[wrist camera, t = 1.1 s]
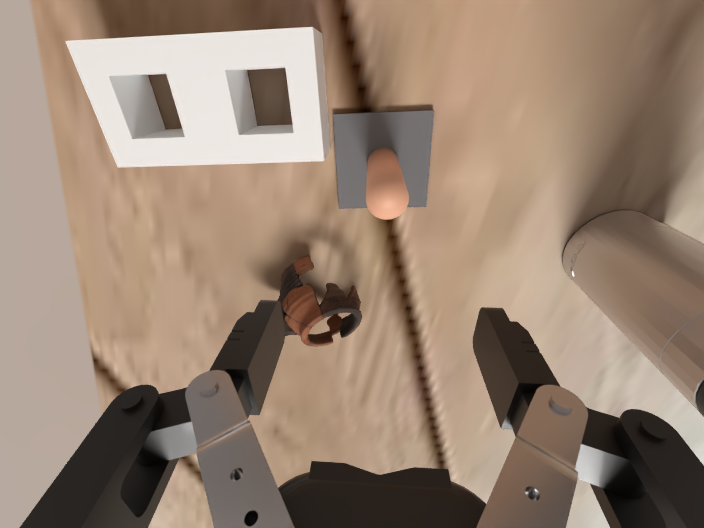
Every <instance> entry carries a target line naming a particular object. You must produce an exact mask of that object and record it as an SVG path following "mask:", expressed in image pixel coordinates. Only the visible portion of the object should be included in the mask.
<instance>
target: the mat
mask: <svg viewBox="0 0 704 528" xmlns="http://www.w3.org/2000/svg"><path fill="white" fill-rule="evenodd" d="M433 116H434V110H421V111H396V112H371V113H346V114H333V122H334V137H335V152H336V168H337V183H338V198H339V209H344V208H368V207H367V204H366V182H367V160H368V157H369V155H370V154H371V153H372V152H373V151H374V150H376V149H378V148H389V149H391V150H392V151H393V152H394V153H395V154H396V156H397V158H398V161H399V165H400V168H401V171H402V174H403V177H404V181H405V184H406V187H407V190H408V194H409V202H408V205H407V207H426V201H427V189H428V177H429V165H430V153H431V141H432V129H433Z"/></svg>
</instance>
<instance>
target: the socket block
mask: <svg viewBox="0 0 704 528" xmlns="http://www.w3.org/2000/svg"><path fill="white" fill-rule="evenodd" d="M65 42H66V44H67V46H68V49H69V51H70V54H71V56H72V58H73V61H74V63H75V66H76V68H77V70H78V73H79V75H80V78H81V80H82V82H83V85H84V87H85V90H86V92H87V95H88V97H89V99H90V102H91V104H92V107H93V109H94V111H95V114H96V116H97V119H98V121H99V123H100V126H101V128H102V131H103V133H104V135H105V138H106V140H107V143H108V145H109V147H110V150H111V152H112V155H113V157H114V159H115V162H116V164H117V167H148V166H180V165H212V164H244V163H277V162H309V161H324V160H325V158H326V156H327V154H328V152H329V150H330V135H329V121H328V107H327V94H326V80H325V66H324V53H323V39H322V33H320V32H319V31H318V30H316V29H315V28H314V27H301V28H283V29H266V30H249V31H231V32H214V33H197V34H179V35H162V36H145V37H127V38H110V39H93V40H75V41H65ZM276 68H285V69H286V76H287V84H288V92H289V100H290V108H291V116H292V123H293V124H292V125H266V126H257V121H256V115H255V110H254V104H253V99H252V93H251V88H250V82H249V77H248V71H247V70H256V69H276ZM156 74H167V78H168V81H169V85H170V88H171V91H172V95H173V98H174V102H175V105H176V108H177V112H178V115H179V119H180V122H181V125H182V129H165V126H164V123H163V120H162V117H161V114H160V111H159V108H158V105H157V102H156V98H155V95H154V92H153V89H152V86H151V83H150V80H149V77H148V75H156Z"/></svg>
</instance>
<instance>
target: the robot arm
mask: <svg viewBox="0 0 704 528" xmlns="http://www.w3.org/2000/svg"><path fill="white" fill-rule="evenodd" d="M563 267H564V270H565V272H566V273H567V275H568V276H569V277H570V278H571V279H572V280H573V281H574V282H575V283H576V284H577V285H578V286H579V287H580V288H581V290H582V291H583V292H584V293H585V294H586V295H587V296H588V297H589V298H590V299H591V300H592V301H593V302H594V303H595V304H596V305H597V306H598V307H599V308H600V309H601V311H602V312H603V313H604V314H605V315H606V316H607V317H608V318H609V319H610V320H611V321H612V322H613V323H614V324H615V325H616V326H617V327H618V328H619V329H620V330H621V331H622V332H623V333H624V334H625V335H626V336H627V337H628V339H629V340H630V341H631V342H632V343H633V344H634V345H635V346H636V347H637V348H638V349H639V350H640V351H641V352H642V353H643V354H644V355H645V356H646V357H647V358H648V359H649V360H650V361H651V362H652V363H653V364H654V366H655V367H656V368H657V369H658V370H659V371H660V372H661V373H662V374H663V375H664V376H665V377H666V378H667V379H668V380H669V381H670V382H671V383H672V384H673V385H674V386H675V387H676V388H677V389H678V390H679V391H680V392H681V393H682V394H683V395H684V396H685V397H686V399H687V400H688V401H689V402H690V403H691V404H692V405H693V406H694V407H695V408H696V409H697V410H698V411H699V412H700V413H701V414H702V415H703V416H704V244H703V243H701V242H699V241H698V240H696V239H694V238H692V237H690V236H688V235H686V234H684V233H682V232H680V231H678V230H676V229H675V228H673V227H671V226H669V225H667V224H665V223H660V222H658V221H656V220H654V219H652V218H650V217H649V216H647V215H645V214H642V213H640V212H637V211H632V210H620V211H615V212H610V213H607V214H604V215H601V216H599V217H597V218H595V219H593V220H591V221H589V222H588V223H587V224H585V225H584V226H583V227H581V228H580V229H579V230H578V231H577V232H576V233H575V234H574V235H573V236H572V238H571V239H570V240H569V242H568V244H567V246H566V248H565V250H564V254H563ZM284 339H285V327H284V321H283V314H282V308H281V303H280V301H271V300H261V301H260V302H259V303H258V305H257V307H256V309H255V311H254V312H247V313H246V314H244V315H243V316H242V317H241V318H240V319H239V320H237V322H236V324H235V326H234V327H233V329H232V332H231V333H230V335H229V336H228V338H227V340H226V342H225V344H224V345H223V347H222V349H221V351H220V353H219V354H218V356H217V358H216V360H215V362H214V363H213V365H212V367H211V369H210V370H209V371H208V372H205V373H203V374H201V375H199V376H197V377H196V378H195V379H193V381H192V382H191V383H190V384H189V385H188V387H187V388H184V389H180V390H175V391H171V392H166V393H162V394H159V393H158V391H157V389H156V388H155V387H153V386H151V385H139V386H135V387H132V388H130V389H128V390H126V391H124V392H123V393H121V394H120V395H119V396H117V397H116V398H115V399H114V400H113V401H112V402H111V404H110V405H109V406H108V408H107V409H106V410H105V412H104V413H103V415H102V416H101V417H100V419H99V420H98V422H97V423H96V424H95V426H94V427H93V428H92V430H91V431H90V432H89V434H88V435H87V436H86V438H85V439H84V441H83V442H82V443H81V445H80V446H79V448H78V449H77V450H76V451H75V453H74V454H73V456H72V457H71V458H70V460H69V461H68V462H67V464H66V465H65V466H64V468H63V469H62V471H61V472H60V473H59V475H58V476H57V477H56V479H55V480H54V482H53V483H52V484H51V486H50V487H49V488H48V490H47V491H46V492H45V494H44V495H43V497H42V498H41V499H40V501H39V502H38V503H37V505H36V506H35V507H34V509H33V510H32V512H31V513H30V514H29V516H28V517H27V518H26V520H25V521H24V522H23V524H22V525H21V527H20V528H148V526H149V524H150V522H151V519H152V517H153V515H154V513H155V511H156V508H157V506H158V504H159V502H160V499H161V497H162V495H163V493H164V491H165V488H166V486H167V484H168V482H169V480H170V477H171V475H172V473H173V471H174V468H175V466H176V464H177V462H178V460H179V458H180V457H183V456H187V455H191V454H194V453H197V458H198V462H199V466H200V470H201V475H202V479H203V483H204V487H205V491H206V496H207V500H208V504H209V508H210V512H211V516H212V521H213V525H214V528H566V525H567V520H568V516H569V512H570V508H571V504H572V500H573V496H574V492H575V487H576V483H577V479H579V480H582V481H585V482H588V483H590V485H591V487H592V489H593V491H594V493H595V496H596V498H597V500H598V502H599V504H600V506H601V509H602V511H603V513H604V515H605V517H606V519H607V522H608V524H609V526H610V528H704V466H703V464H702V463H701V462H700V460H699V459H698V458H697V457H696V455H695V454H694V453H693V451H692V450H691V449H690V448H689V446H688V445H687V444H686V442H685V441H684V440H683V438H682V437H681V436H680V435H679V433H678V432H677V431H676V430H675V429H674V428H673V427H672V426H671V425H669V424H668V423H667V422H665V421H664V420H662V419H661V418H659V417H657V416H655V415H653V414H651V413H649V412H646V411H642V410H637V409H630V410H626V411H624V412H623V413H622V415H621V416H620V418H618V417H615V416H611V415H608V414H605V413H601V412H598V411H595V410H592V409H589V408H587V407H586V406H585V405H584V403H583V402H582V401H581V400H580V399H579V398H578V397H577V396H576V395H575V394H573V393H572V392H570V391H569V390H567V389H565V388H562V387H560V385H559V383H558V382H557V380H556V378H555V377H554V375H553V373H552V371H551V370H550V368H549V366H548V365H547V363H546V361H545V360H544V358H543V356H542V354H541V353H539V349H538V348H537V346H536V344H534V341H533V339H532V337H531V336H530V334H529V332H528V331H527V330H526V329H525V328H524V327H522V326H521V325H520V324H519V323H518V322H512V321H510V320H509V318H508V317H507V315H506V313H505V311H504V309H502V308H484V307H482V308H481V309H480V311H479V315H478V319H477V323H476V327H475V331H474V336H473V349H474V353H475V356H476V359H477V362H478V364H479V367H480V370H481V373H482V376H483V379H484V382H485V384H486V387H487V390H488V393H489V396H490V399H491V402H492V404H493V407H494V410H495V413H496V416H497V419H498V422H499V424H500V427H501V429H512V430H513V431H514V434H515V436H516V438H515V440H514V442H513V445H512V447H511V449H510V452H509V454H508V456H507V458H506V461H505V463H504V465H503V468H502V470H501V472H500V475H499V477H498V479H497V481H496V484H495V486H494V488H493V491H492V493H491V495H490V497H489V500H488V502H487V504H486V503H485V502H484V501H482V500H481V499H480V498H479V497H478V496H476V495H475V494H474V493H473V492H471V491H469V490H468V489H466V488H465V487H463V486H461V485H459V484H456V483H454V482H451V481H450V476H449V471H448V469H432V468H415V467H414V468H409V469H405V470H400V471H396V472H392V473H387V474H383V475H377V474H374V473H371V472H368V471H365V470H363V469H360V468H357V467H354V466H351V465H348V464H346V463H334V462H317V461H312V462H311V468H310V472H308V473H304V474H301V475H299V476H296V477H294V478H292V479H290V480H288V481H287V482H285V483H284V484H283V485H281V486H280V487H279V488H278V487H277V485H276V482H275V480H274V477H273V475H272V473H271V470H270V468H269V465H268V463H267V461H266V458H265V456H264V453H263V451H262V449H261V446H260V444H259V441H258V439H257V437H256V434H255V432H254V429H253V427H252V425H251V423H250V421H248V417H249V415H260V412H261V409H262V406H263V403H264V400H265V397H266V394H267V391H268V388H269V385H270V382H271V379H272V376H273V374H274V371H275V368H276V365H277V362H278V359H279V356H280V353H281V350H282V347H283V344H284Z"/></svg>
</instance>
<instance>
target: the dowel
mask: <svg viewBox="0 0 704 528" xmlns="http://www.w3.org/2000/svg"><path fill="white" fill-rule="evenodd" d="M408 202H409V194H408V190H407V187H406V184H405V181H404V177H403V174H402V171H401V168H400V165H399V161H398V158H397V156H396V154H395V153H394V152H393V151H392V150H391V149H389V148H378V149H376V150H374V151H373V152H372V153H371V154H370V155H369V157H368V160H367V182H366V204H367V207H368V209H369V211H370V212H371V213H372V214H373V215H374V216H376V217H378V218H381V219H393V218H396V217H398V216H399V215H401V214H402V213H403V212H404V211H405V209H406V208H407V205H408Z"/></svg>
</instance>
